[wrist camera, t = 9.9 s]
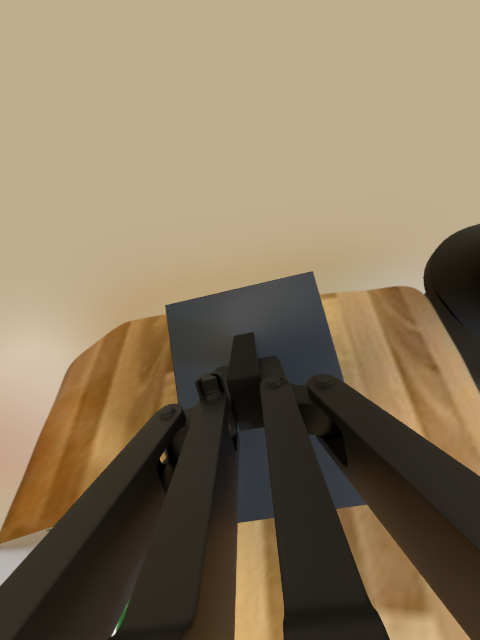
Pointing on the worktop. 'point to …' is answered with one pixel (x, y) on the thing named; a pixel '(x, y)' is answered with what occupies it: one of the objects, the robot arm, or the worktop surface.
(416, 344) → the worktop surface
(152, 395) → the worktop surface
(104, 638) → the robot arm
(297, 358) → the lid
